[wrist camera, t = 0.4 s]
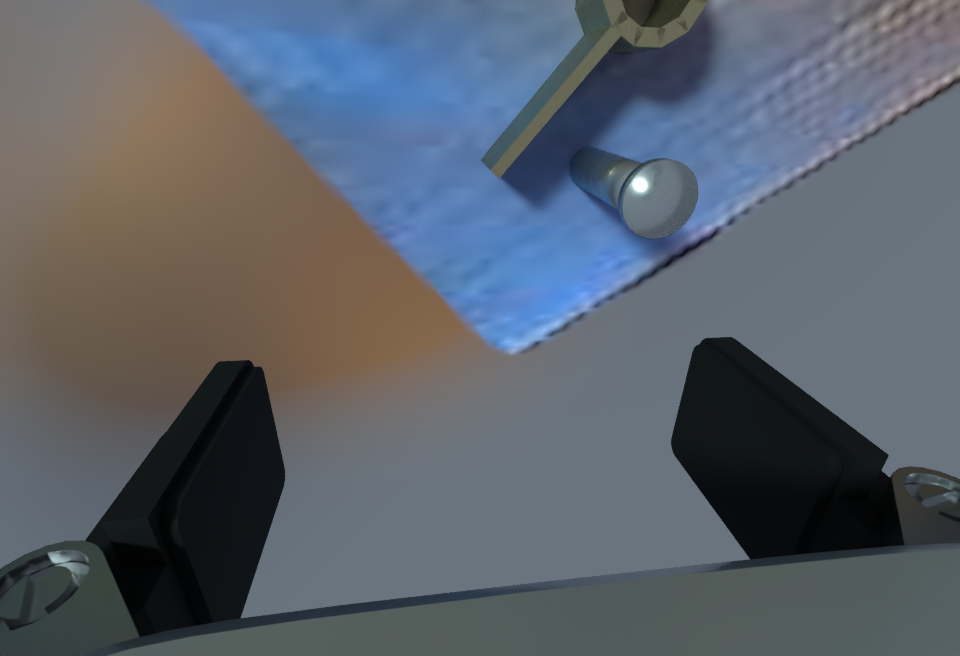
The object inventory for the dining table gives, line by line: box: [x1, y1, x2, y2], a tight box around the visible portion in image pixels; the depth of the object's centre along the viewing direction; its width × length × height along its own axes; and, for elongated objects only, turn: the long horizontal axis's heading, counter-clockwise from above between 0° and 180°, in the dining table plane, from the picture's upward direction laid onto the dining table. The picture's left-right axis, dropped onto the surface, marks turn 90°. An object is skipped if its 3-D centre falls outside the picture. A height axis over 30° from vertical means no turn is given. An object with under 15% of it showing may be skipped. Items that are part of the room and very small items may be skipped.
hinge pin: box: [569, 147, 698, 239], centre depth 31 cm, size 4×4×12 cm
